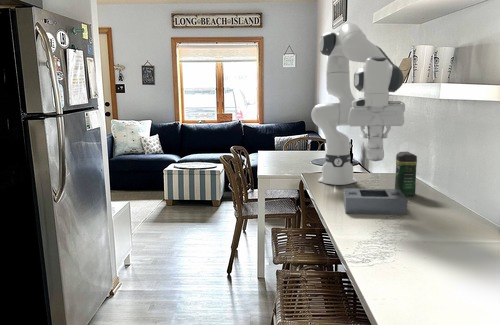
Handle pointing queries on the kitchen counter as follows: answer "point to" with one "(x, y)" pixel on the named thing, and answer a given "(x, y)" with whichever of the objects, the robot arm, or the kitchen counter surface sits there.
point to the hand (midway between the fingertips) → (375, 138)
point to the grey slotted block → (375, 201)
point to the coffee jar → (406, 173)
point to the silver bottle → (375, 138)
